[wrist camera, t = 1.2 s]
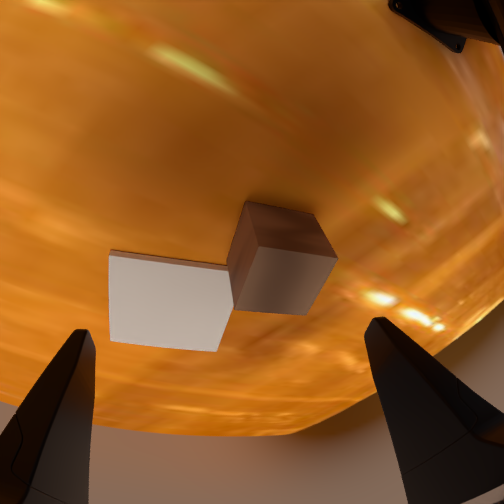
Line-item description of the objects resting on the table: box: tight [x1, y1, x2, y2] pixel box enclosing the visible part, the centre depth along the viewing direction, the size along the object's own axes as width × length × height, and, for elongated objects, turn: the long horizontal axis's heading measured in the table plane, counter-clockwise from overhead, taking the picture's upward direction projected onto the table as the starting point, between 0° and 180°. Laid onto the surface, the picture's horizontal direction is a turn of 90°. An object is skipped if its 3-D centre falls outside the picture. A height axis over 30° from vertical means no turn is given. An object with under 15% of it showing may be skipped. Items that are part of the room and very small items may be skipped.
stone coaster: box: [109, 250, 234, 352], centre depth 26 cm, size 10×10×1 cm
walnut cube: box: [227, 201, 338, 315], centre depth 21 cm, size 5×5×5 cm
